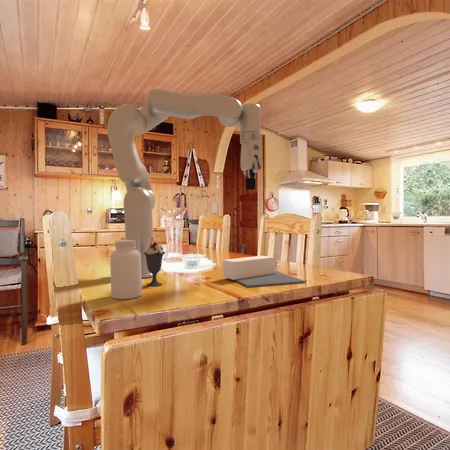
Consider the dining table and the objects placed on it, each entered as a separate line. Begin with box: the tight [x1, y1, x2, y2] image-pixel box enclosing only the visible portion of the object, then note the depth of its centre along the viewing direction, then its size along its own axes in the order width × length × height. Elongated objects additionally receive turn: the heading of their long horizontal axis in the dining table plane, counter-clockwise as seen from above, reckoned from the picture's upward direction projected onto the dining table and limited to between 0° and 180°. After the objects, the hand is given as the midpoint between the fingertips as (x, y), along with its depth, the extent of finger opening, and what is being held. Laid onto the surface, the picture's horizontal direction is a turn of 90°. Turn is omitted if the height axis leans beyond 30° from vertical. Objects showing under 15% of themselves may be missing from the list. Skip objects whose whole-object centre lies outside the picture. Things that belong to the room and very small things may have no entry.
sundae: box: [144, 237, 166, 288], centre depth 104 cm, size 7×7×15 cm
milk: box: [222, 255, 280, 281], centre depth 118 cm, size 6×6×22 cm
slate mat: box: [233, 270, 306, 288], centre depth 113 cm, size 20×20×1 cm
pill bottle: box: [109, 239, 143, 300], centre depth 90 cm, size 8×8×15 cm
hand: (250, 189), depth 123 cm, fingers closed
